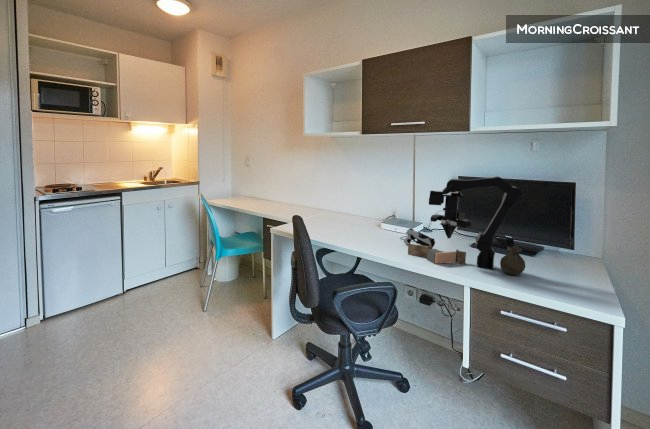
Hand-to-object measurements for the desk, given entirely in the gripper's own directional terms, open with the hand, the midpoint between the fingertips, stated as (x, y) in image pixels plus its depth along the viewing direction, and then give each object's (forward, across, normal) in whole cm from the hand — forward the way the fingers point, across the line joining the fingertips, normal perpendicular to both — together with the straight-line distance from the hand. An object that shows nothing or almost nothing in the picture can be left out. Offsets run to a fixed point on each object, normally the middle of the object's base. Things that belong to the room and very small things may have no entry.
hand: (448, 238), depth 164 cm
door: (+12, 0, +2) cm, 12 cm away
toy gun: (+12, +25, -10) cm, 30 cm away
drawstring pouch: (+12, -26, -10) cm, 30 cm away
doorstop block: (+12, +4, +4) cm, 14 cm away
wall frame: (+12, +7, 0) cm, 14 cm away
